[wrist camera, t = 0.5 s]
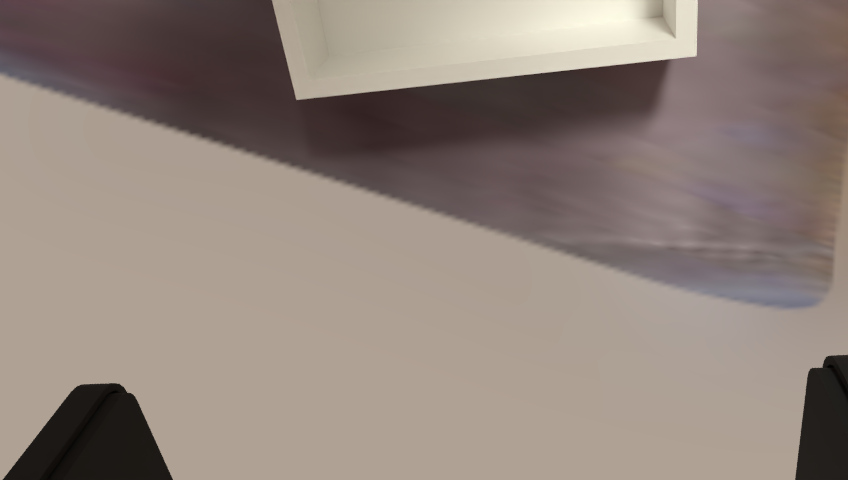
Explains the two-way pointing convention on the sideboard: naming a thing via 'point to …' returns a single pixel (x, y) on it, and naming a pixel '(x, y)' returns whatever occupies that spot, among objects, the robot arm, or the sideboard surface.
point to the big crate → (470, 39)
